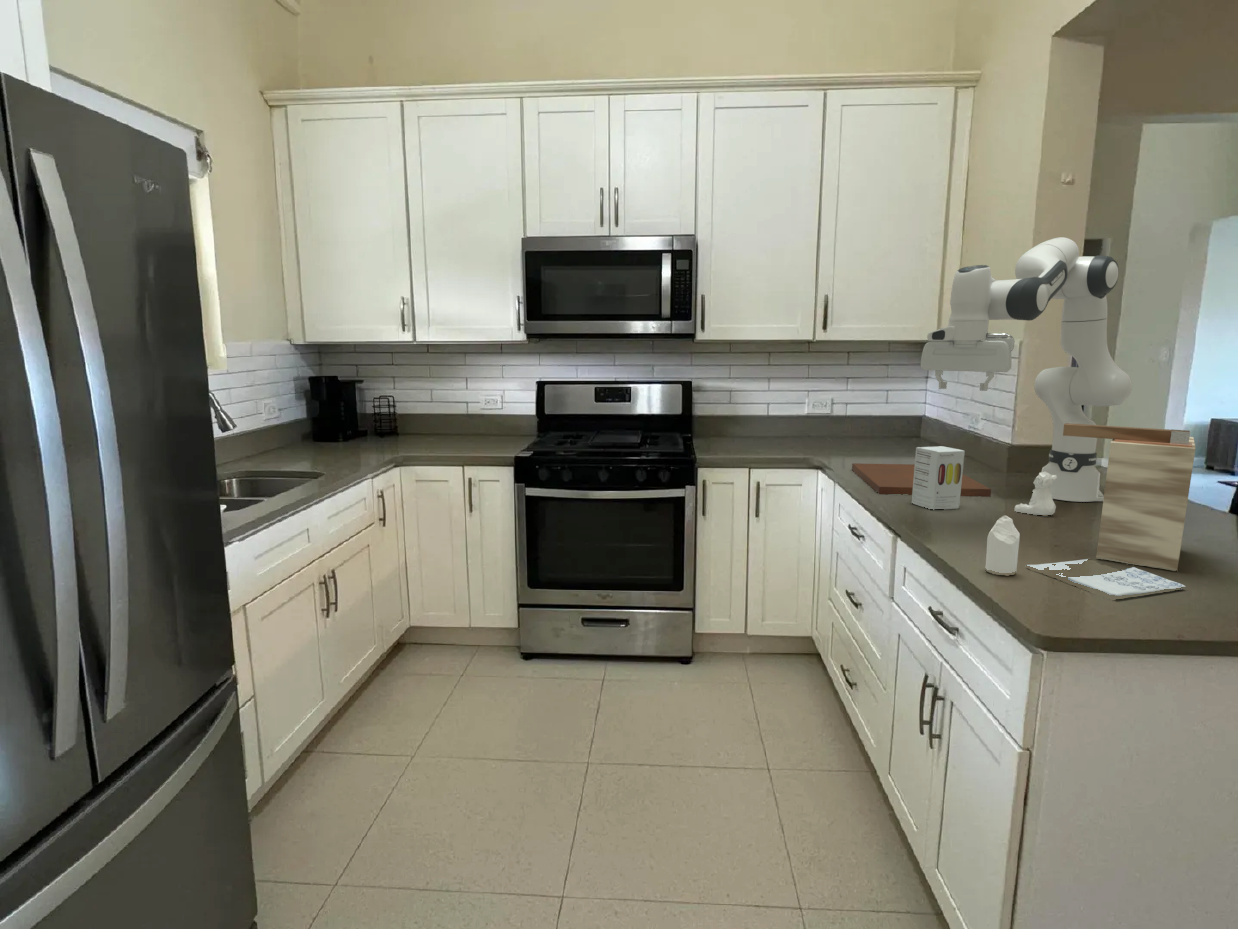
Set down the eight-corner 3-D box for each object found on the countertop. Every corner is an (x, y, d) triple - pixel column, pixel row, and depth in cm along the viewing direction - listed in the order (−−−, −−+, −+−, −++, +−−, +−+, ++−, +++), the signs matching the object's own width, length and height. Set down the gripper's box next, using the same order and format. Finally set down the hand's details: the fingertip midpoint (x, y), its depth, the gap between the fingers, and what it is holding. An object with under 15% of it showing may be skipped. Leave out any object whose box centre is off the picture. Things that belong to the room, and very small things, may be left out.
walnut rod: (1064, 433, 160) (1065, 422, 159) (1187, 442, 146) (1189, 430, 146) (1062, 435, 156) (1063, 424, 156) (1188, 444, 143) (1190, 432, 143)
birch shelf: (1103, 538, 169) (1117, 430, 164) (1176, 549, 160) (1193, 435, 156) (1095, 559, 153) (1110, 440, 149) (1176, 572, 145) (1195, 447, 140)
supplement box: (932, 511, 196) (937, 451, 193) (910, 503, 204) (914, 446, 201) (960, 508, 199) (965, 450, 195) (937, 501, 207) (941, 445, 204)
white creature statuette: (1036, 508, 198) (1041, 467, 196) (1065, 515, 190) (1070, 472, 188) (1012, 511, 195) (1016, 469, 193) (1040, 519, 187) (1045, 475, 185)
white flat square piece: (1112, 604, 129) (1113, 593, 129) (1022, 570, 148) (1023, 560, 148) (1187, 593, 135) (1189, 583, 134) (1091, 561, 154) (1092, 552, 153)
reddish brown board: (945, 473, 252) (851, 471, 256) (946, 465, 251) (852, 463, 255) (990, 498, 213) (878, 496, 217) (991, 489, 212) (879, 486, 216)
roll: (998, 520, 140) (983, 513, 146) (993, 576, 143) (978, 567, 148) (1028, 519, 141) (1011, 512, 146) (1022, 576, 143) (1006, 567, 148)
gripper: (1017, 333, 168) (1012, 390, 170) (927, 333, 180) (923, 387, 183) (1012, 333, 163) (1007, 392, 165) (920, 333, 175) (916, 388, 178)
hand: (962, 389), depth 174 cm, fingers open, 8 cm apart
